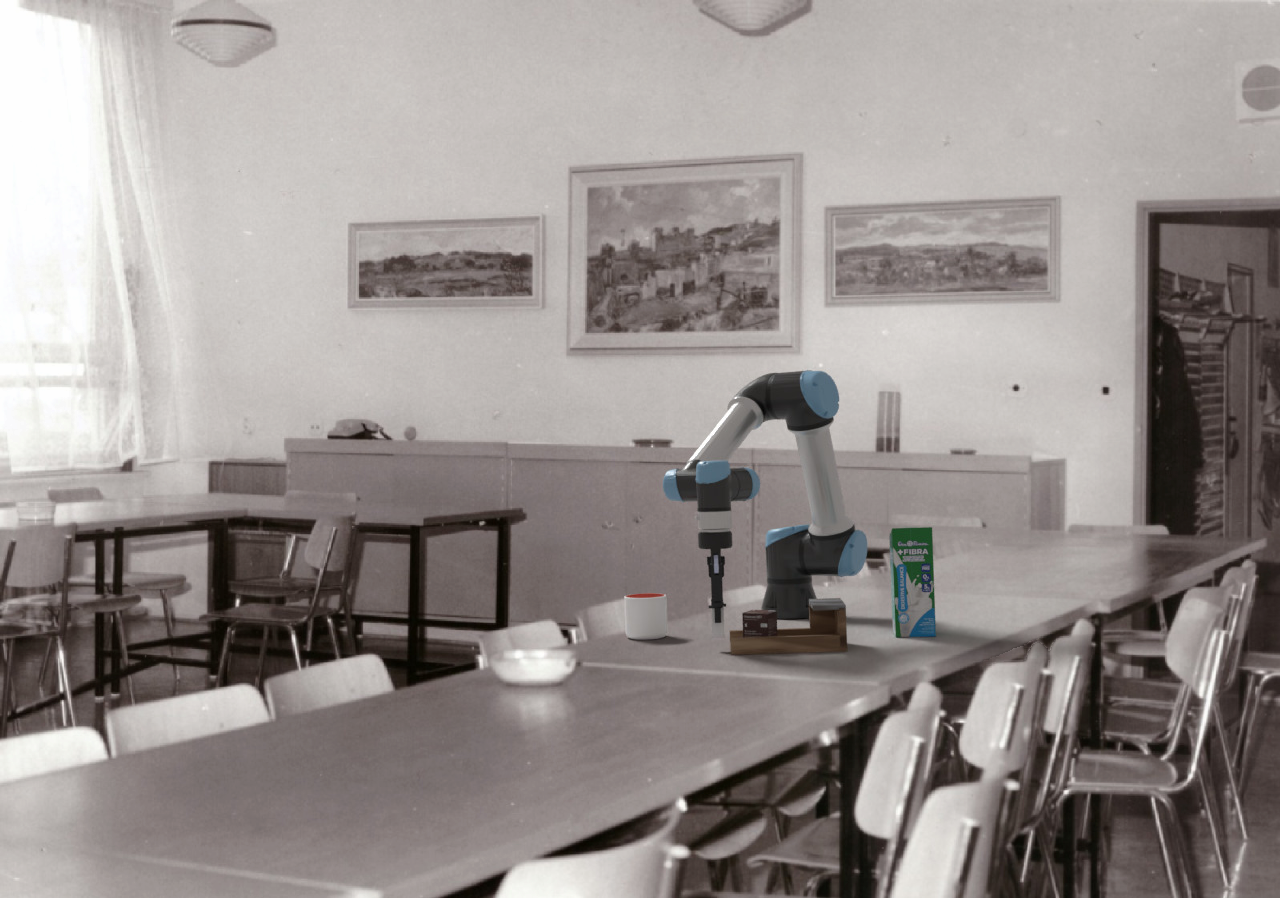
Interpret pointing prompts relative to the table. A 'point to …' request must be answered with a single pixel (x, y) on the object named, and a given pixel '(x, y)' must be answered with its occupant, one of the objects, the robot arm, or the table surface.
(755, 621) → the box
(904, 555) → the milk carton
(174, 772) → the table surface
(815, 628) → the channel
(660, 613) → the cup
